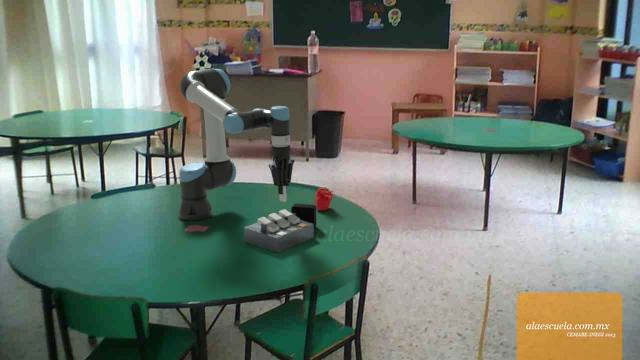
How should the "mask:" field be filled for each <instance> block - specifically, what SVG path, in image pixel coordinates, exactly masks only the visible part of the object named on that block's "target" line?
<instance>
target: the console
mask: <svg viewBox="0 0 640 360" xmlns="http://www.w3.org/2000/svg"><path fill="white" fill-rule="evenodd" d="M292 214H293V215H295V216H296V214H295V213H292ZM279 216H280V215H279ZM280 217H282V218H284V219H285V220H287V221H288V217H287V216H284V215H283V216H280ZM267 219H268V218H267ZM268 220H270V219H268ZM270 221H271V222H273V223H275V224H276V225H277V220H274V219H272V220H270ZM288 222H289V221H288ZM289 223H290V224H289V226H288V227H286V228H282V227H280V226H279V225H278V226H279V230H278V231H275V232H273V233H272V232H271V231H269V230H268V229H267V227H266V224H263V223H262V224H259V223H258V222H254V223H251V224H250V225H246V226H244V227H243V237H244V239H243V241H244V242H246V243H249V244H250V245H254V246H258V247H260V248H263V249H266V250H268V251H271V252H274V253H277V254H278V253H281V252H283V251H285V250H287V249H290V248H293V247H295V246H297V245H300V244H302V243H304V242H307V241H309V240H312V239H314V238H313V237H315V236H314V234H315V233H314V232H315V229H314V224H312V223H309V222H306V221H302V220H300V221H299V223H296V224H292V223H291V222H289Z"/></svg>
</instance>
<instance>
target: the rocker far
mask: <svg viewBox="0 0 640 360" xmlns="http://www.w3.org/2000/svg"><path fill="white" fill-rule="evenodd" d="M277 215H280V216H283V215H284V216H287V217H288V221H289V222H291V223H292V224H296V223H299V221H300V218H298V217H297V216H295V215H293V214H292V213H291V212H290V211H288V210H287V209H285V208H284V209H281V210H278V214H277Z"/></svg>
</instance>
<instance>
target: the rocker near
mask: <svg viewBox="0 0 640 360" xmlns="http://www.w3.org/2000/svg"><path fill="white" fill-rule="evenodd" d="M257 222H258V223H259V224H262V223H263V224H266V227H267V229H268V230H269V231H271V232H272V233H273V232H275V231H278V230H279V226H278V225H276V224H275V223H273V222H271V221H270V220H268V217H265V216H262V217H258V218H257ZM257 222H256V223H257Z"/></svg>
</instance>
